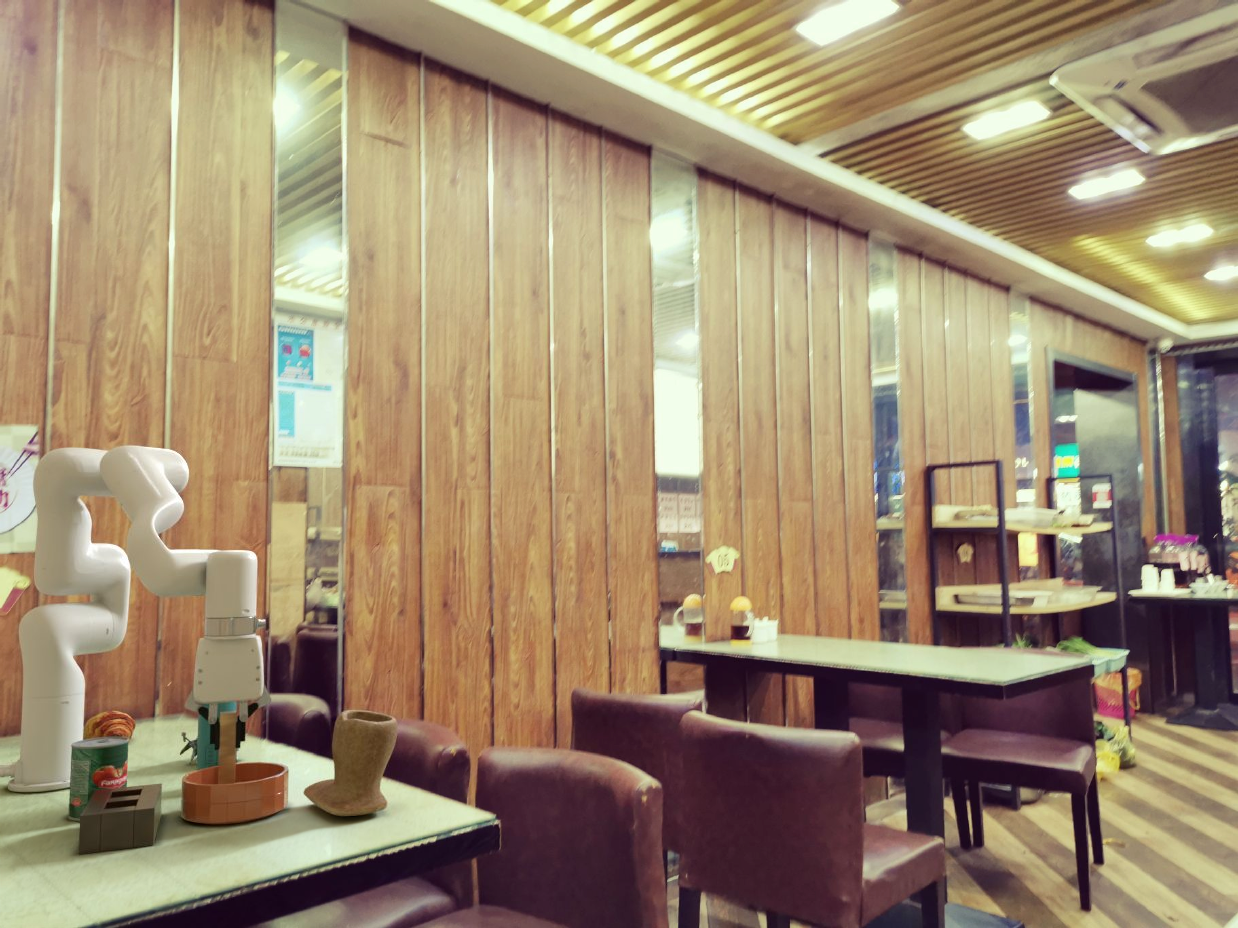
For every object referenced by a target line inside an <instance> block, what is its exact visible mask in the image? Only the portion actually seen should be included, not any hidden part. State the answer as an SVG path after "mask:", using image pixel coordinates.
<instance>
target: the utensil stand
mask: <svg viewBox="0 0 1238 928" xmlns="http://www.w3.org/2000/svg"><path fill="white" fill-rule="evenodd" d="M162 791H163V783H152V784H151V783H150V784H143V785H131V786H130V785H129V786H127V787H120V788H110V789H100V790H95V791H94V793H93V795H92V797H91V798H90V800H89V802H88V803H87V805H86V807H85V809H84V810H83V812H82V814H81V815H80V821H79V828H78V829H79V831H78V855H84V854H93V853H99V852H100V853H101V852H108V851H116V850H124V849H133V848H141V847H150V846H154V844H155V841H156V836H157V833H158V829H159V826H160V823H161V822H160V821H161V817H162V798H163V797H162V793H163V792H162Z"/></svg>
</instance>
